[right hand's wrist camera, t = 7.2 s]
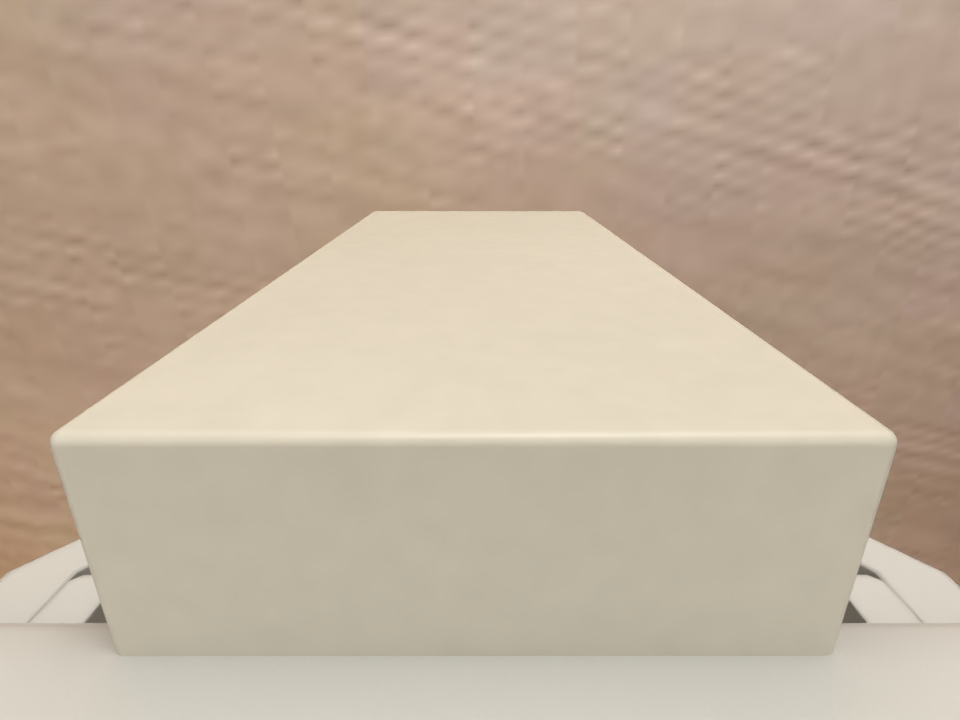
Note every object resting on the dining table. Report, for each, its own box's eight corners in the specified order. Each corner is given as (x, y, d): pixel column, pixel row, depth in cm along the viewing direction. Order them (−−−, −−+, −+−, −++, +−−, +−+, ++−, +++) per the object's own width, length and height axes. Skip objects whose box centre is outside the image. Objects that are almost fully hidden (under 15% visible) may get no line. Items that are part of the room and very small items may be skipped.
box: (372, 210, 16) (39, 436, 4) (583, 211, 16) (909, 436, 4) (407, 723, 23) (332, 1330, 11) (549, 723, 23) (622, 1330, 11)
